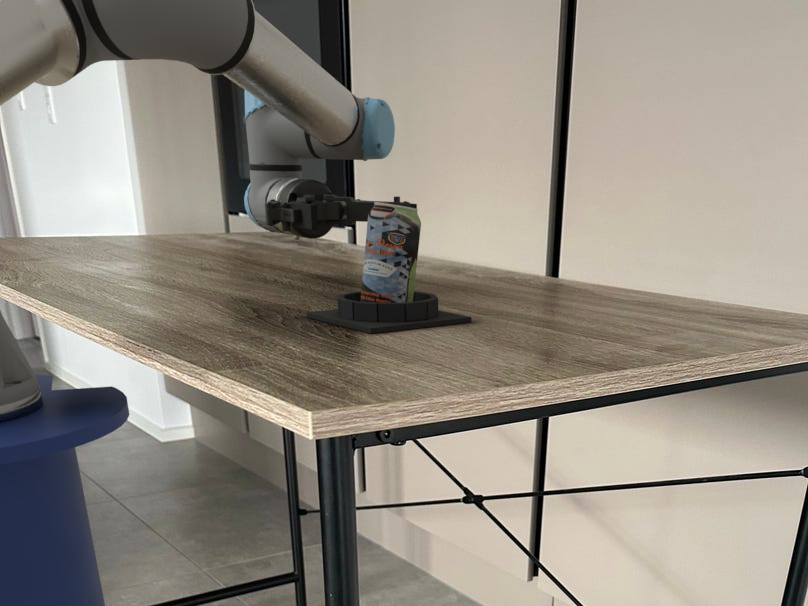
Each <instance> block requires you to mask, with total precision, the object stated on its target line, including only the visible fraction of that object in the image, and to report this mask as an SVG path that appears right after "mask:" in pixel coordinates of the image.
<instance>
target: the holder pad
mask: <svg viewBox="0 0 808 606" xmlns="http://www.w3.org/2000/svg"><path fill="white" fill-rule="evenodd" d="M336 297H337V309H327V310H315V311H306V318H307V319H312V320H316V321H320V322H325V323H327V324H332V325H336V326H340V327H343V328H347V329H348V328H349V329H351V330H356V331H359V332H363V333H367V334H380V333H389V332H390V333H391V332H397V331H405V330H414V329H415V330H416V329H423V328H432V327H433V328H434V327H442V326H448V325H449V326H450V325H457V324H469V323H472V316H468V315H463V314H459V313H454V312H449V311H444V310H439V297H438V296H437V295H436V294H435V293H430V292H425V291H416V290H414V294H413V302H404V303H375V302H361V290H360V291H350V292H346V293H345V292H344V293H341V294H337V296H336Z"/></svg>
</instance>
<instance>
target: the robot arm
mask: <svg viewBox="0 0 808 606" xmlns="http://www.w3.org/2000/svg"><path fill="white" fill-rule="evenodd" d="M255 8H256V7H255V4H254V2H253V0H0V107H1V106H3V105H4V104H5V103H6V102H7V103H8V101H10V100H11V99H13V98H14V97H16V96H17V95H18V94H19V93H21V92H23V91H24V90H25V89H27V88H29V87H30V86H32V85H33V84H34V83H35V84H39V85H42V86H45V87H46V86H47V87H57V86H58V87H59V86H61V85H63V84H66V83H67V82H69V81H70V80H71V79H73V78H74V77H76V76H77V75H79V74H80V73H82V72H83V71H85V70H86V69H87V68H88V67H90V66H92V65H94V64H96V63H99V62H108V61H109V62H113V61H135V60H136V61H138V60H139V61H141V60H163V61H176V62H180V63H186V64H189V65H191V66H193V67H194V68H196V69H197V70H198V71H200V72H201V73H204V74H207V75H210V76H224V77H226V78H227V79H229V80H230V81H231V82H233V83H234V84H236V85H237V86H238V87H240V88H241V89H243V90H244V122H245V128H246V129H245V130H246V140H247V149H248V150H247V151H248V159H249V161H248V162H249V169H250V170H249V179H250V183H249V184H248V185H247V188H246V189H245V193H244V196H243V202H244V209H245V212H246V214H247V217H249V219H250V220H251V222H253V224H255V225H256V226H258V227H259V228H262V229H264V230H265V231H268V232H271V233H278V234H284V235H292V236H293V239H294V240H295V241H300V240H301V238H305V239H312V240H314V239H319V238H323V237H325V236H326V235H327V234H328V233H329V232H330V231H331V230H332V229H333V227H338V226H339V225H340V226H352V225H353V226H354V225H355V224H356V222H362V223H363V222H364V223H368V215H369V212H370V211H371V210H372V209H373V207H374V203H375V202H378V203H386V204H393V205H399V206H405V207H410V208H415V209H418V204H417V203H411V202H409V201H401V196H397V195H396V196H393V201H385V200H383V201H381V200H363V199H361V198H356V199H355V198H354V197H353V196H338V195H336V194H333V193H332V191H331V190H330V188H329V187H327V185H325V184H324V183H323V182H321V181H319V180H316V179H310V178H303V172H302V171H303V165H302V159H303V160H304V159H311V160H312V159H313V160H316V159H317V160H346V161H347V160H348V161H350V160H352V161H363V162H367V161H369V160H383V159H385V158H387V157H388V156H390V153H392V150H393V147H394V143H395V134H396V133H395V132H396V126H395V119H394V115H393V111H392V109H391V107H390V105H389V104H388V103H387V102H386V100H384V99H381V98H373V97H370V96H368V97H364V98H360V97H357V96H356V95H355V94H353V93H352V92H351V91H350V90H349V89H348V88H347V87H345V86H344V85H343V84H342V83H341V82H339V81H338V80H337V79H336V78H335V77H334V76H333V75H331V73H329V72H328V71H327V70H325V69H324V68H323V67H322V66H321V65H320V64H318V63H317V62H316V61H315V60H314V59H313V58H311V57H310V56H309V55H308V54H307V53H306V52H304V51H303V50H302V49H301V48H300V47H299V46H297V45H296V44H295V43H294V42H293V41H292V40H290V39H289V37H287V36H286V35H285V34H284V33H282V32H281V31H280V30H279V29H278V28H277V27H275V26H274V25H273V24H272V23H271V22H270V21H268V20H267V18H265V17H264V16H262V15H261V13H259V12H258V11H257V10H256V9H255ZM36 375H37V374H36V373H35V372H34V370H33V368H32V366H31V364H30V363H29V361H28V359H27V357H26V356H25V353H24V352H23V350H22V349H21V346H20V344H19V343H18V341H17V339H16V337H15V336H14V334H13V331H12V330H11V328H10V326H9V324H8V323H7V321H6V319H5V318H4V316H3V313H2V311H1V310H0V423H4V422H8V421H12V420H15V419H18V418H21V417H24V416H27V415H29V414H31V413H33V412H35V411H37V410H38V409H39V408H40V407H41V406H42V405H43V400H42V395H41V390H40V386H39V385H38V380H37V378H36Z"/></svg>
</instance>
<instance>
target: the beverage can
mask: <svg viewBox="0 0 808 606" xmlns="http://www.w3.org/2000/svg"><path fill="white" fill-rule="evenodd" d="M418 211H419V210H418V208H417V209H415V208H410V207H405V206H399V205H393V204H386V203H378V202H375V203H374V207H373V209H372V210H371V211H370V212H369V215H368V222H366V223H367V224H366V234H365V235H366V237H365V247H364V258H363V269H362V279H361V290H360V291H361V302H375V303H404V302H413V294H414V291H415V283H416V274H417V266H418V257H419V247H420V237H421V231H422V221H421V219H420V216H419V214H418Z"/></svg>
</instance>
